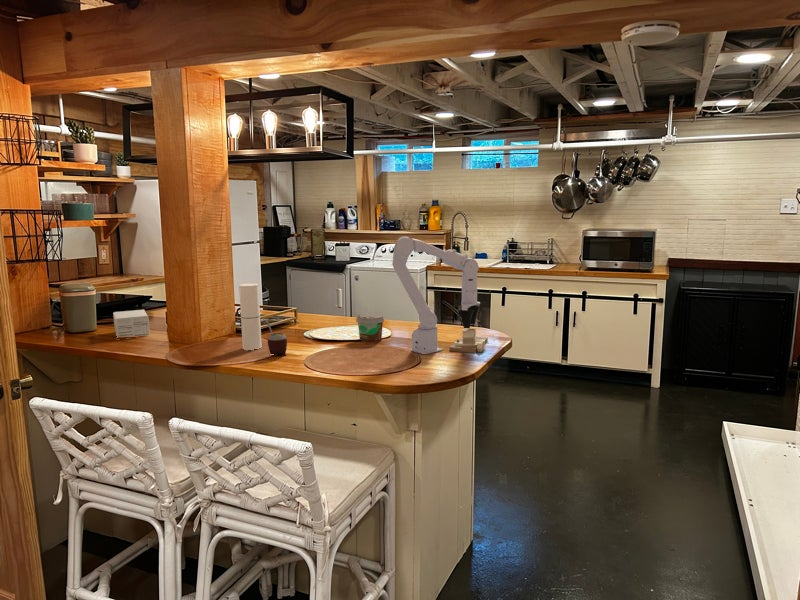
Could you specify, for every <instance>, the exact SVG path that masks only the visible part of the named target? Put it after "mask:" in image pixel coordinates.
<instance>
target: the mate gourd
mask: <svg viewBox="0 0 800 600" xmlns="http://www.w3.org/2000/svg"><path fill="white" fill-rule="evenodd" d="M261 319H262V320H263V321H264V322H265V323H266V325H267V327H268V329H269V331H270V334H269V336H268V337H267V347H268V350H269V355H270V354H274V355H275V356H273V358H274V357H276V358H278V357H286V356H287V354H286V353H287V346H288V339H287V335H285V334H284V333H282V332H274V333H273V330H272V328H271V324H270V322H269V321H268V320H267V319H265V318H263V317H261ZM277 356H278V357H277Z"/></svg>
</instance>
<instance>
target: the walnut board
mask: <svg viewBox="0 0 800 600" xmlns="http://www.w3.org/2000/svg"><path fill="white" fill-rule="evenodd" d="M458 340H459V341H463V336H461V337H460V338H459V339H458ZM480 340H485V344H487V343H488V341H489V337H485V336H476V342H479V341H480ZM449 351H450V352H461V353H470V352H471V353H473V354H475V353H477V348H474V347H461V346H455V342H454V343H453V344H451V345H450V346H449Z"/></svg>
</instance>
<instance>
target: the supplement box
mask: <svg viewBox="0 0 800 600" xmlns="http://www.w3.org/2000/svg"><path fill="white" fill-rule="evenodd" d="M112 314H113V315H112V316H113V317H112V318H113V324H114V325H113V326H114V333H115V332H116V333H115V337H116V336H117V337H116V339H117V338H118V337H132V336H145V337H147V336H146V335H150V336H151V330H150V320H149V315H148V313H147V312H146V310H145V309H135V310H124V311H114V312H113V313H112Z"/></svg>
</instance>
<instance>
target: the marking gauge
mask: <svg viewBox="0 0 800 600" xmlns="http://www.w3.org/2000/svg"><path fill="white" fill-rule="evenodd" d="M476 331H477V330H476V329H475V328H464V329H462V337H463V341H459V339H456V341H455V342H454V343H455V346H461V347H474V348H477V352H478V353H482V352H483V351H484V350H485V349H486V343H485V340H480V341H479V342H476V337H477V336H476V335H477V334H476ZM477 352H476V353H477Z"/></svg>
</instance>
